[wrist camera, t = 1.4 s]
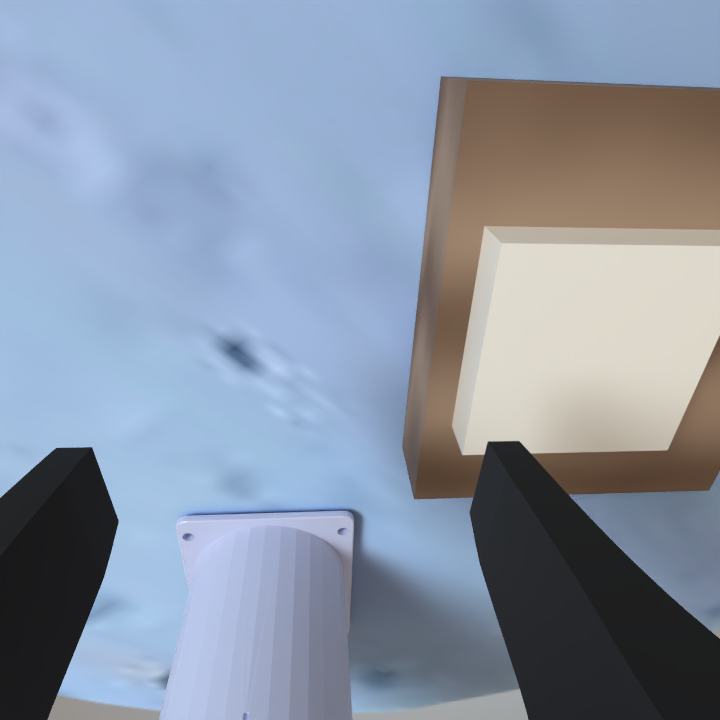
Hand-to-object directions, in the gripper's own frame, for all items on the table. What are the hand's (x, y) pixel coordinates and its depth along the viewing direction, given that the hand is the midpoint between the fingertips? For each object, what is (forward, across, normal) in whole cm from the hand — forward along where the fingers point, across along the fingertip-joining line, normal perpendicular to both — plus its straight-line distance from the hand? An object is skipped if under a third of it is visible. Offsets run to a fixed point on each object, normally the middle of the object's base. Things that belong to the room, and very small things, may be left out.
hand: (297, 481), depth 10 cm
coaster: (+7, -8, +1) cm, 11 cm away
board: (+10, -10, +1) cm, 14 cm away
